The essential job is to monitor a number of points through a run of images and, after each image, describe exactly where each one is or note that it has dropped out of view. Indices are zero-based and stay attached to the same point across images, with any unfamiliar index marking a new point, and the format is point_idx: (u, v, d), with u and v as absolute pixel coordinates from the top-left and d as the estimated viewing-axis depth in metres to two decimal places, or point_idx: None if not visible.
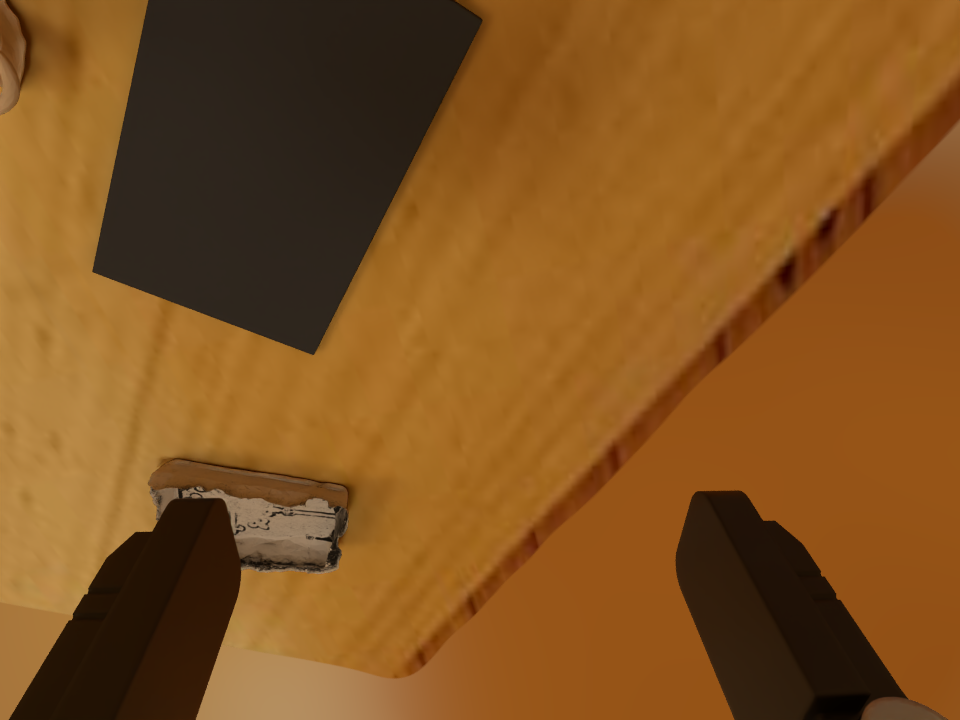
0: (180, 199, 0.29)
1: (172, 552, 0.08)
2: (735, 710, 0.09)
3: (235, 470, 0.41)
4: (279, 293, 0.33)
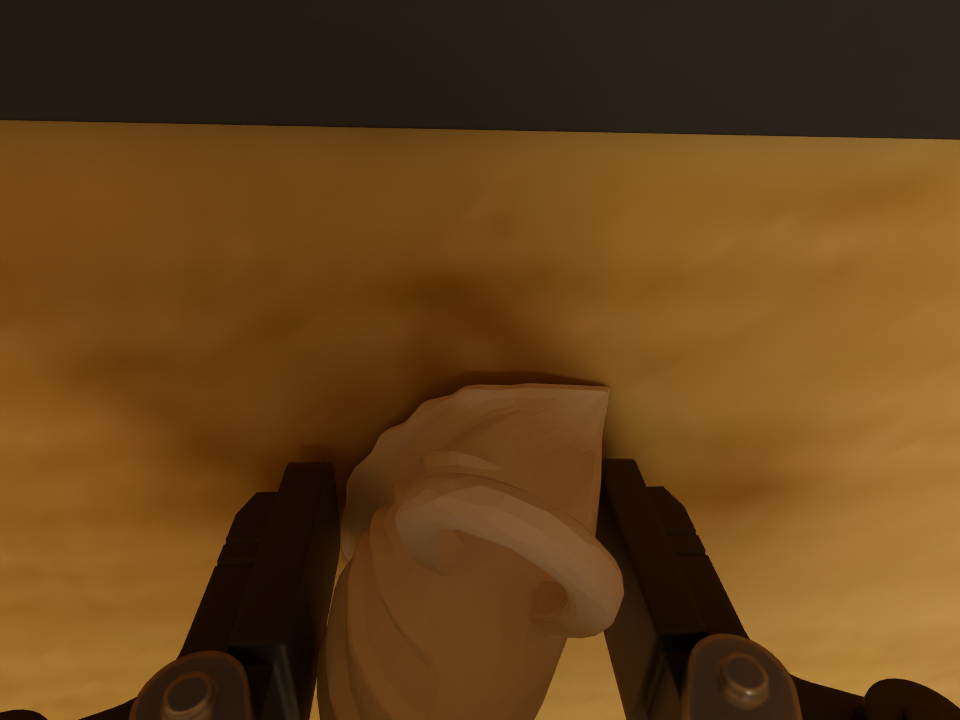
0: None
1: (301, 507, 0.09)
2: (613, 659, 0.09)
3: None
4: None
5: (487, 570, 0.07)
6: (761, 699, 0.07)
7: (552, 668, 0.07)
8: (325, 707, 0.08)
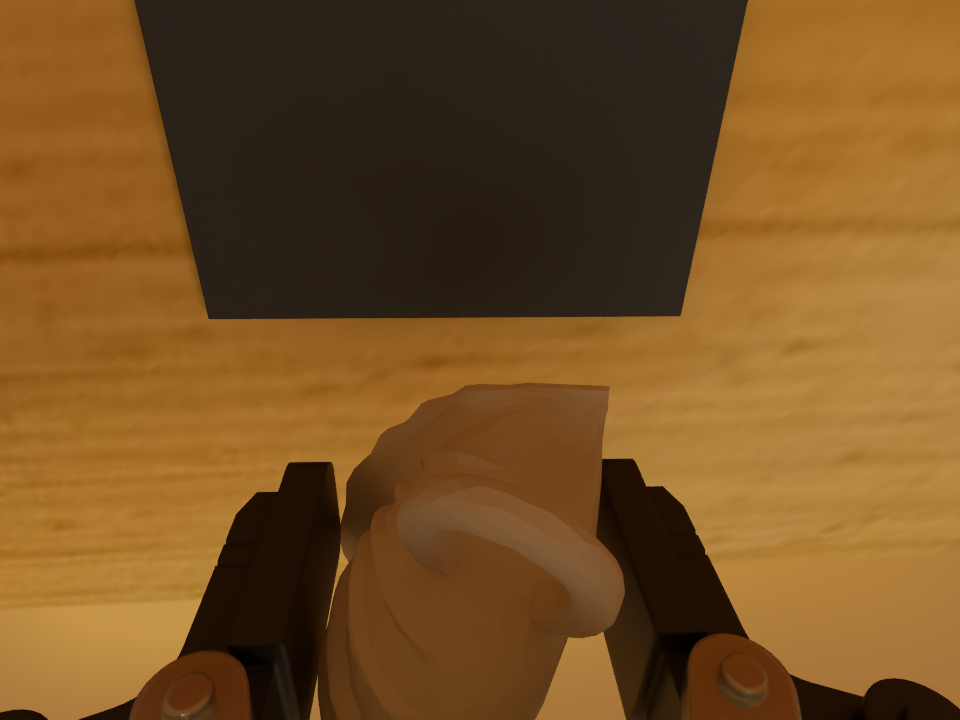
0: (545, 249, 0.24)
1: (301, 507, 0.09)
2: (613, 659, 0.09)
3: None
4: (639, 92, 0.21)
5: (488, 569, 0.07)
6: (761, 699, 0.07)
7: (553, 668, 0.07)
8: (326, 707, 0.08)
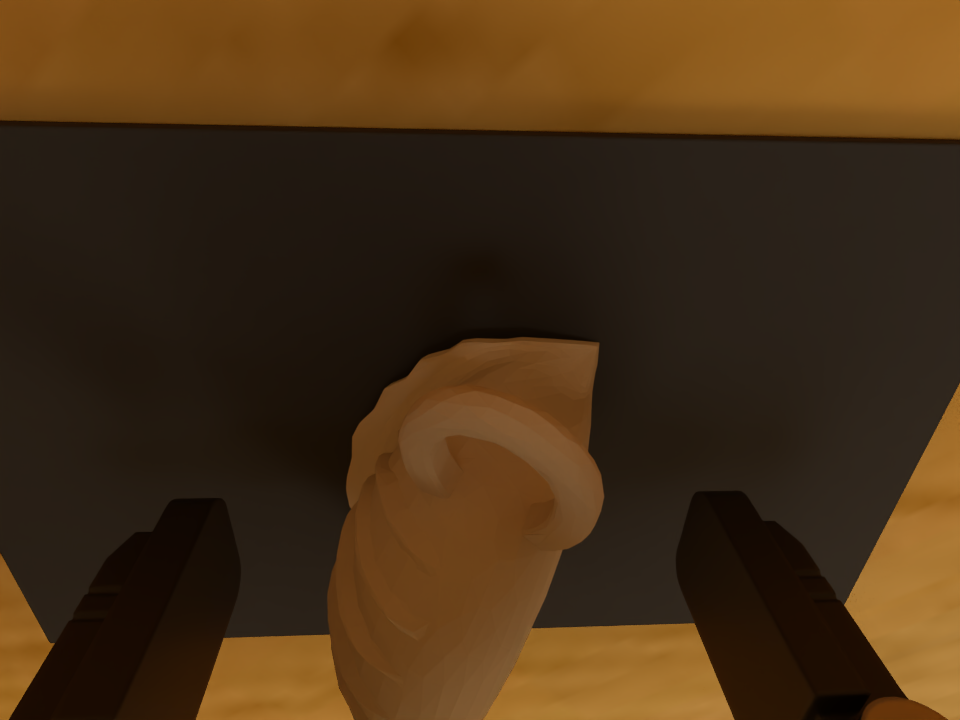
0: (625, 544, 0.14)
1: (172, 552, 0.08)
2: (735, 710, 0.09)
3: None
4: (829, 318, 0.11)
5: (484, 492, 0.08)
6: None
7: (544, 584, 0.08)
8: (335, 628, 0.09)
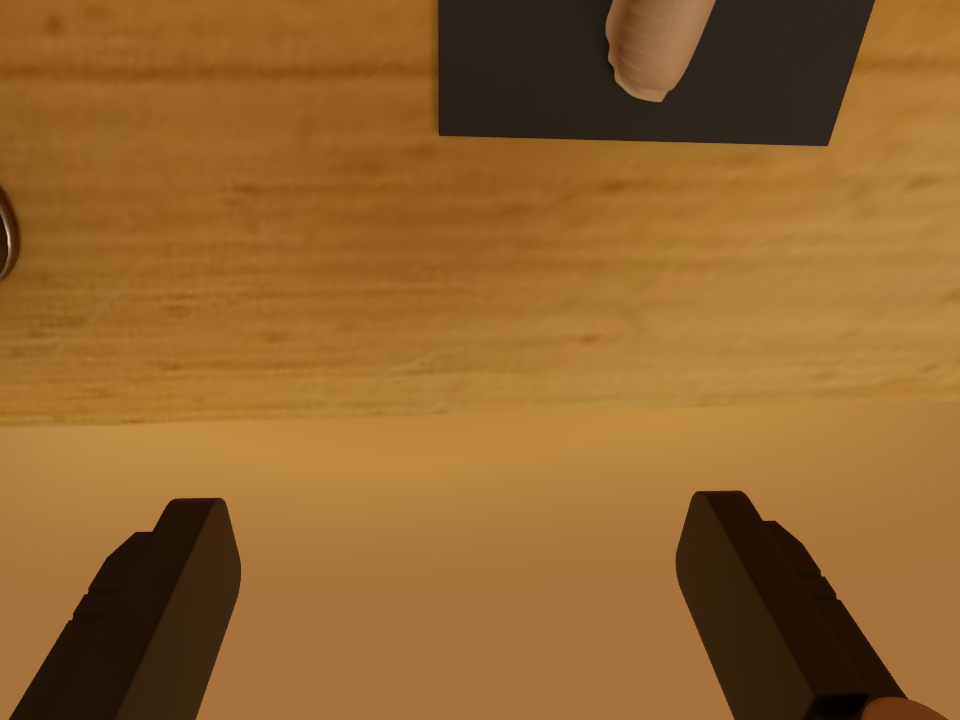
0: (725, 77, 0.29)
1: (172, 552, 0.08)
2: (735, 711, 0.09)
3: None
4: None
5: None
6: None
7: None
8: (638, 7, 0.24)
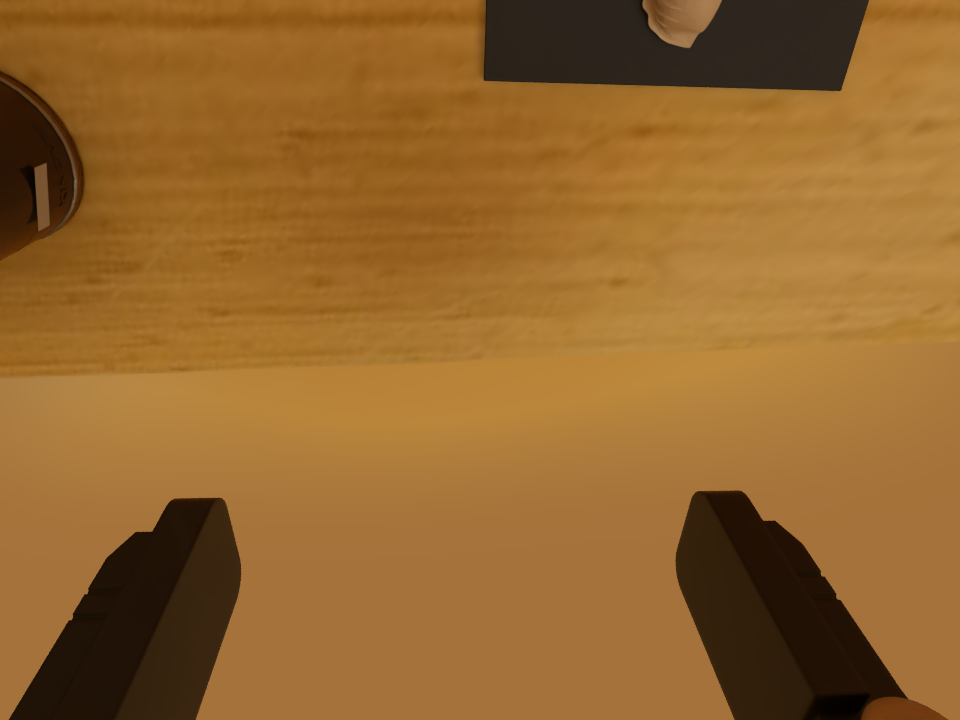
0: (748, 25, 0.31)
1: (172, 552, 0.08)
2: (735, 710, 0.09)
3: None
4: None
5: None
6: None
7: None
8: None
